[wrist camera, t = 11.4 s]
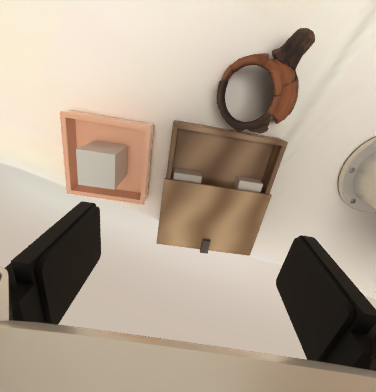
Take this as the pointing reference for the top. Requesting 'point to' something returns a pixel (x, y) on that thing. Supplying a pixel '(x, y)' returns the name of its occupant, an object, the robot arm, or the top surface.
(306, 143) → the top surface
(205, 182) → the sliding lid wooden box
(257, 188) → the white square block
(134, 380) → the robot arm
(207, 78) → the top surface
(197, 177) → the flat grey square block
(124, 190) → the terracotta tray
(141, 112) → the top surface
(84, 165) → the stone block
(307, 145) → the top surface
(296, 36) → the broken pottery ring
